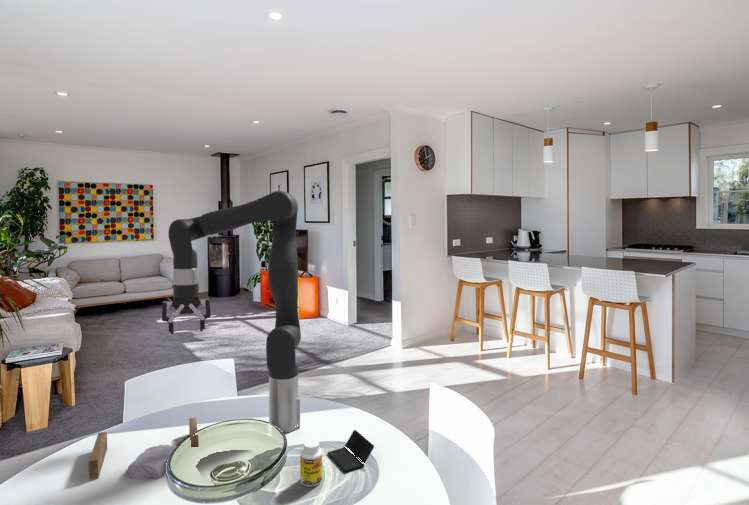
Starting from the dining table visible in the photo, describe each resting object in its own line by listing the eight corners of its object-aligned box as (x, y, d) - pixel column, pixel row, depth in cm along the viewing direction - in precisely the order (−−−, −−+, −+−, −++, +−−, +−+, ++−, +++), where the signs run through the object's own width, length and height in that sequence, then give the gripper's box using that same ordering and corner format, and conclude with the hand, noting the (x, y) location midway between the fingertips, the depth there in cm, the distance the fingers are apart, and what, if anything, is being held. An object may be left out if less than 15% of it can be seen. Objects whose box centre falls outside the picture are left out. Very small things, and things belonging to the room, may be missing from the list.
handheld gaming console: (321, 452, 126) (341, 420, 128) (336, 459, 130) (355, 428, 133) (345, 476, 117) (366, 442, 120) (360, 482, 122) (380, 449, 124)
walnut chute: (196, 432, 139) (196, 417, 138) (198, 458, 124) (198, 441, 124) (99, 449, 128) (98, 432, 128) (89, 480, 113) (88, 461, 113)
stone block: (125, 485, 115) (162, 479, 114) (121, 467, 114) (158, 461, 114) (150, 461, 126) (184, 456, 126) (146, 445, 126) (180, 440, 126)
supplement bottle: (301, 489, 111) (301, 450, 110) (299, 476, 117) (299, 439, 116) (323, 486, 112) (323, 447, 112) (320, 474, 118) (321, 436, 117)
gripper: (209, 279, 147) (209, 327, 149) (161, 281, 142) (162, 331, 143) (210, 282, 140) (211, 333, 142) (160, 285, 135) (162, 337, 136)
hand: (186, 332), depth 142 cm, fingers open, 8 cm apart
